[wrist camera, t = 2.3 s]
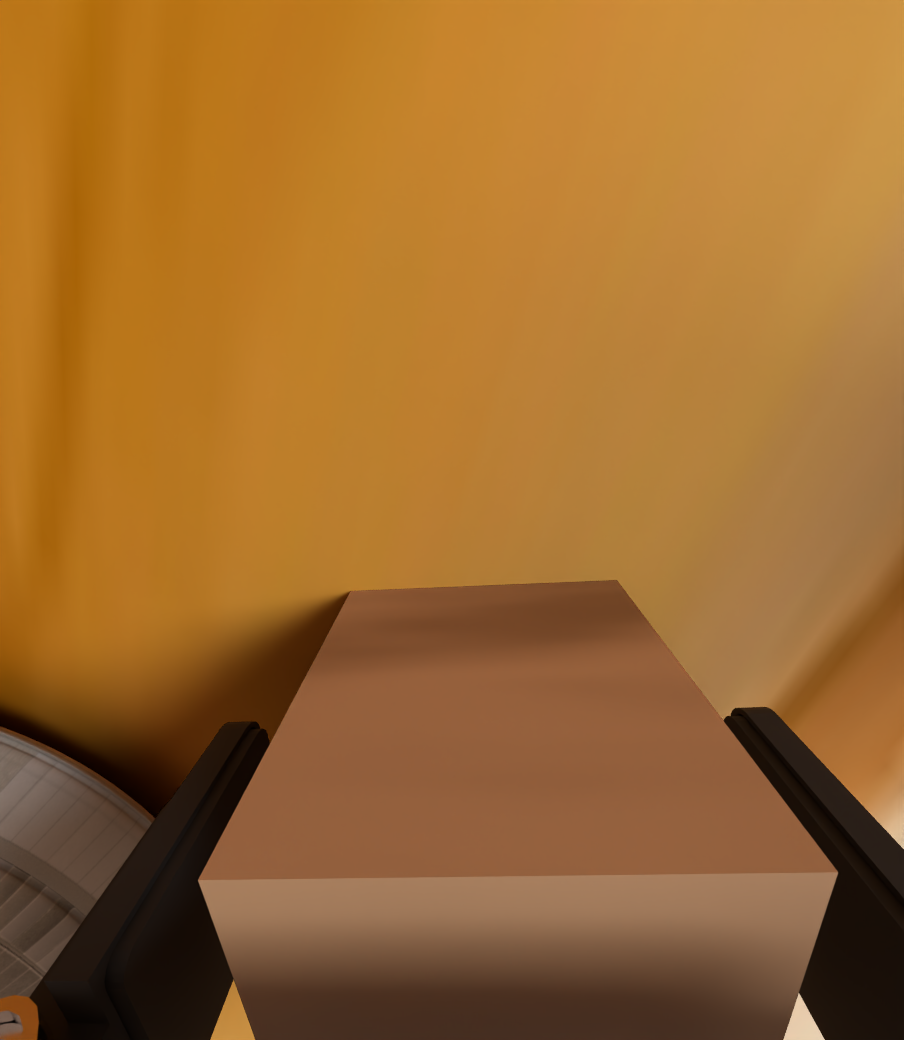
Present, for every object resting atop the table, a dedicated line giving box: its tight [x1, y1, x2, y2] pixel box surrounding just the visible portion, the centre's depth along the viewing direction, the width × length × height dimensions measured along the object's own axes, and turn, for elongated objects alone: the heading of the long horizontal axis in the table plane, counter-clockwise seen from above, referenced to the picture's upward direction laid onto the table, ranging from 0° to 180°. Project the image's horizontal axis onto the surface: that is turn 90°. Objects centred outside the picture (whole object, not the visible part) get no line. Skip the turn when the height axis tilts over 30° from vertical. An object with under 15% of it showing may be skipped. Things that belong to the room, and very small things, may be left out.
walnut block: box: [198, 580, 838, 1040], centre depth 8 cm, size 6×6×6 cm
